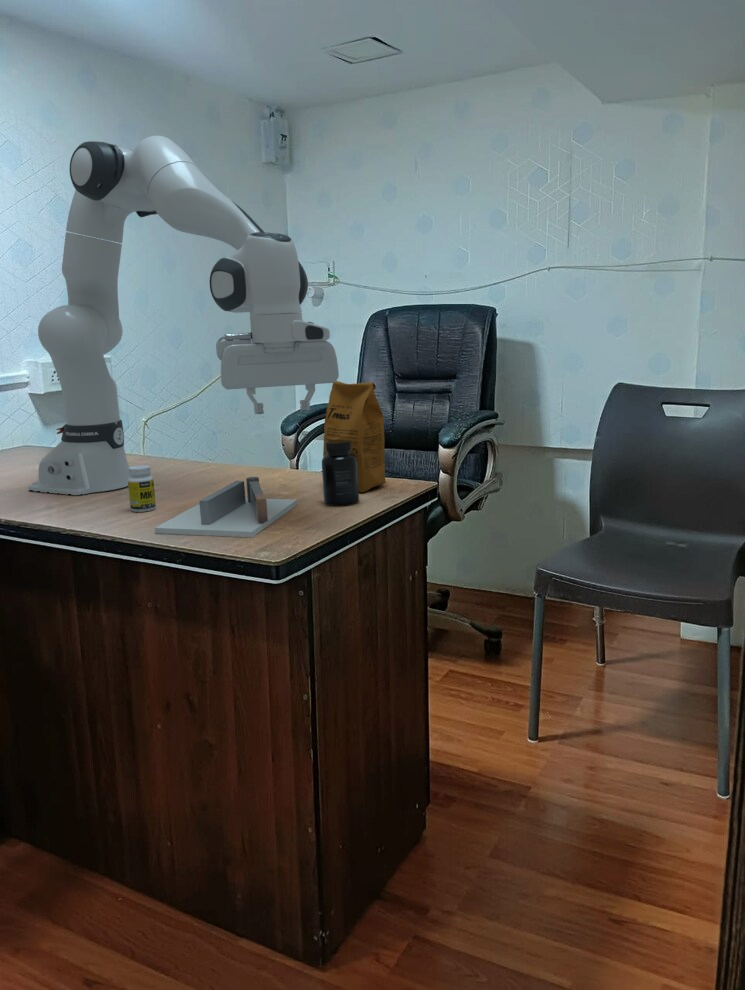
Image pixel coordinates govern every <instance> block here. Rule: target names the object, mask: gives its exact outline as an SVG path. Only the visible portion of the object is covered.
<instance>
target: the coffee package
mask: <svg viewBox="0 0 745 990" xmlns="http://www.w3.org/2000/svg"><path fill="white" fill-rule="evenodd" d="M376 389H377V386H376V384H375V383H374V382H373V381H372V382H359V383H345V382H342V381H338V380H336V382H335V383H332V386H331V390H330V393H329V399H328V402H327V403H328V404H327V408H326V413H325V419H324V424H323V425H324V427H323V430H324V431H323V432H324V434H323V449H322V451H323V454H322V455H323V457H324V456H325V455H327V452H326V442H327V441H330V440H339V439H345V440H350V441H351V451H350V453H352V454H353V455H355V457H356V458H357V470H358V489H359V493H366V492H367V491H369V490H371V489H372V488H375V487H379V486H382V485H384V484H385V483H386V473H385V472H386V466H385V465H386V464H385V454H386V453H385V443H386V441H385V417H384V415H383V412H382V409H381V407H380V403H379V401H378V399H377V397H376V393H375V390H376ZM323 457H322V458H323Z"/></svg>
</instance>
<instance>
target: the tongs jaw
mask: <svg viewBox="0 0 745 990" xmlns="http://www.w3.org/2000/svg"><path fill="white" fill-rule="evenodd" d="M249 488H250V501H251V504H252V507H253V510H254V512H255V515H256V518H257V521H258V522H267V521H268V515H267V501H266V499H267V497H266V495H265V493H264V491H263V489H262V487H261V486H260V482H259V483H258V481H249Z"/></svg>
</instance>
